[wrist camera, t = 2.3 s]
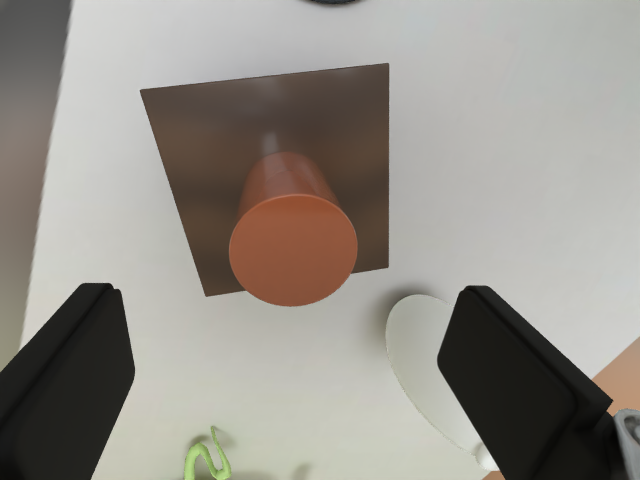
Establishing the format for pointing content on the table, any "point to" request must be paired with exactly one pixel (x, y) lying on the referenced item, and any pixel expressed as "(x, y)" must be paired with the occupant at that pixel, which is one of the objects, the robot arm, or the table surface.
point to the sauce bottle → (430, 370)
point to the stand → (271, 137)
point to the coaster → (333, 1)
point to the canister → (290, 233)
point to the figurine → (201, 449)
